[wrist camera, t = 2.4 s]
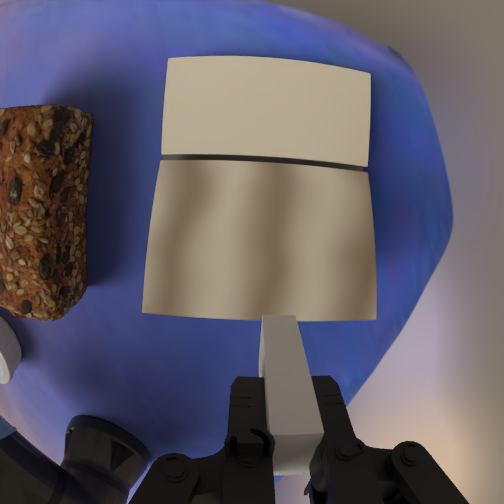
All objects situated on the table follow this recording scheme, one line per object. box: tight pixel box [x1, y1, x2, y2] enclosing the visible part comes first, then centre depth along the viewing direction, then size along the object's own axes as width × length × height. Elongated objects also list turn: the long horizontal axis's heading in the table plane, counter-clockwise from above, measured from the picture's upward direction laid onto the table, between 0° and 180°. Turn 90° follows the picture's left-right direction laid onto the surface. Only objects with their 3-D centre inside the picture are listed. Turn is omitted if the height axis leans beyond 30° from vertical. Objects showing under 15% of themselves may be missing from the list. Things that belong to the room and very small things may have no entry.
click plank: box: [142, 160, 377, 321], centre depth 20 cm, size 16×11×2 cm
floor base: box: [161, 56, 371, 172], centre depth 23 cm, size 17×20×3 cm
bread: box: [0, 104, 93, 322], centre depth 19 cm, size 19×11×10 cm, turn 170°
